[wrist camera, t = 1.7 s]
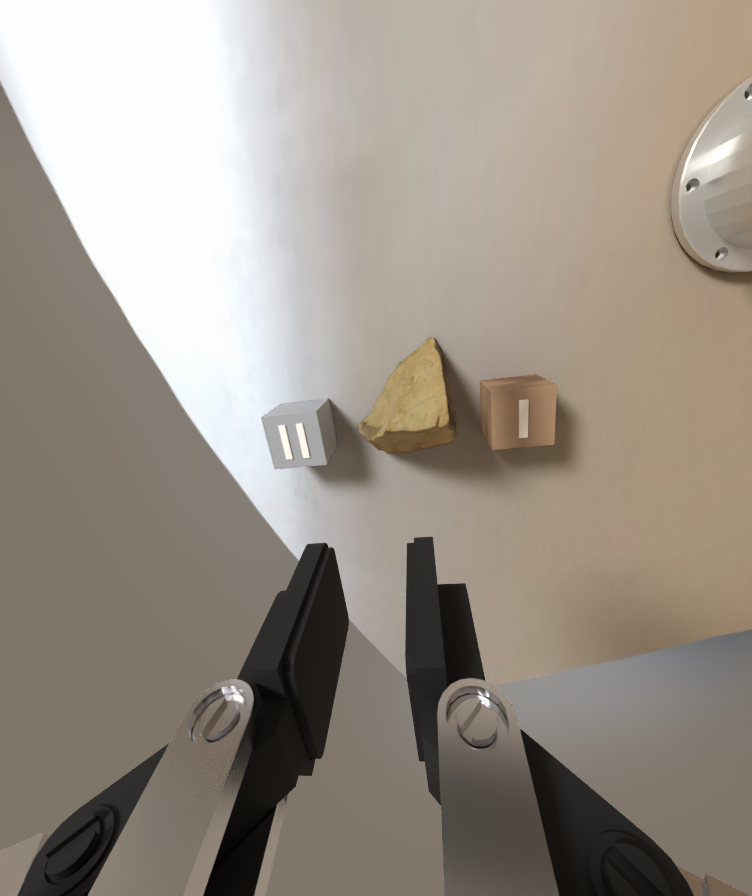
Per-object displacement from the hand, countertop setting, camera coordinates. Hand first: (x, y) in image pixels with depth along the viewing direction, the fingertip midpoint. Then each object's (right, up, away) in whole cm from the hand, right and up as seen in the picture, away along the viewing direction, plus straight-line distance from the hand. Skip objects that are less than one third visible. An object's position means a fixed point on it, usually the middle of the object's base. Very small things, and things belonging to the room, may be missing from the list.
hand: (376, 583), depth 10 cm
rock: (+2, +9, +24) cm, 25 cm away
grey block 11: (-7, +6, +25) cm, 27 cm away
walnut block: (+12, +8, +23) cm, 27 cm away
